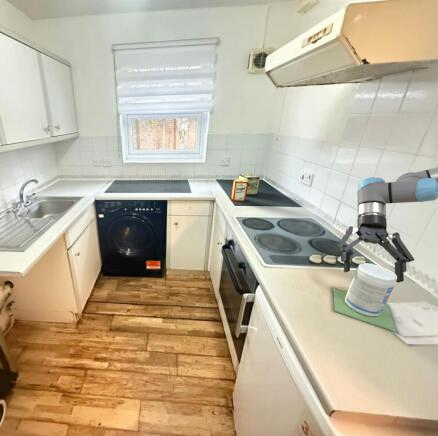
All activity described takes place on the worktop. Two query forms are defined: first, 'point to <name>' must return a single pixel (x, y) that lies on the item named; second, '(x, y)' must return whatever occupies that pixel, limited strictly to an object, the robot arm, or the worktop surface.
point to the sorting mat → (380, 320)
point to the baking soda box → (239, 190)
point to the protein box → (251, 183)
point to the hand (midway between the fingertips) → (372, 276)
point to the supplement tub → (370, 289)
